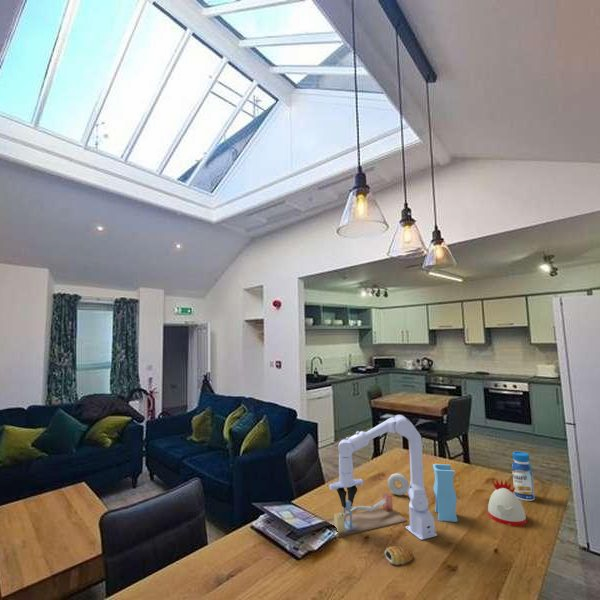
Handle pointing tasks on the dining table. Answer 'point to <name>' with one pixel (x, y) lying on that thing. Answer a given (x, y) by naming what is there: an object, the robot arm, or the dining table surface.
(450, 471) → the vase
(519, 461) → the beverage bottle
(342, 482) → the robot arm
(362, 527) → the tan flat sheet
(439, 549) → the dining table surface
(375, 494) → the dining table surface
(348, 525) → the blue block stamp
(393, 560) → the pastry
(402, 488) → the donut
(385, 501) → the jointed linkage mechanism
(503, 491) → the kitchen timer
